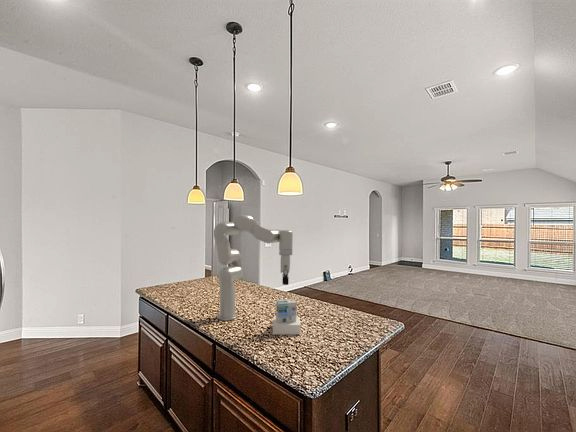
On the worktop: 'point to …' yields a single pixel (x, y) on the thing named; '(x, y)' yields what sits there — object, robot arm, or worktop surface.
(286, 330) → the plinth
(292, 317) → the light bulb box
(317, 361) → the worktop surface
